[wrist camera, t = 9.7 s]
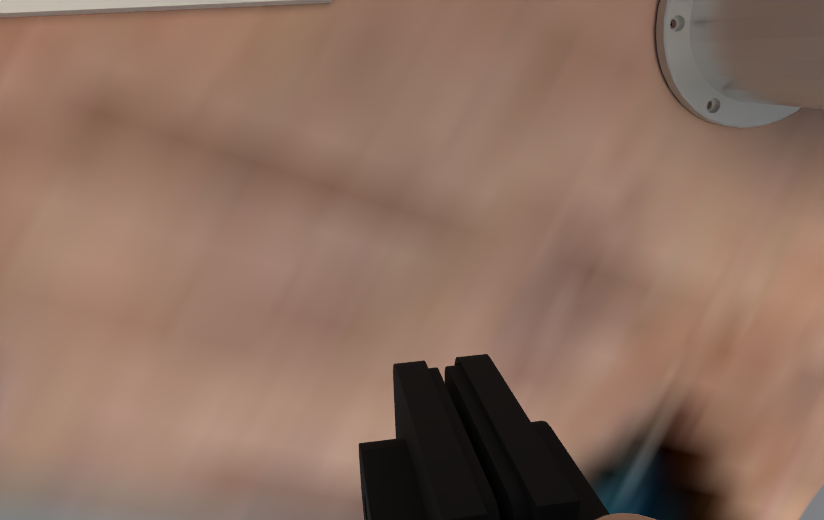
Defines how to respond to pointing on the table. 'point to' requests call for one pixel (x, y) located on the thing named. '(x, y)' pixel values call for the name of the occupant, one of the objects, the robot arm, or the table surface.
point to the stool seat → (125, 6)
